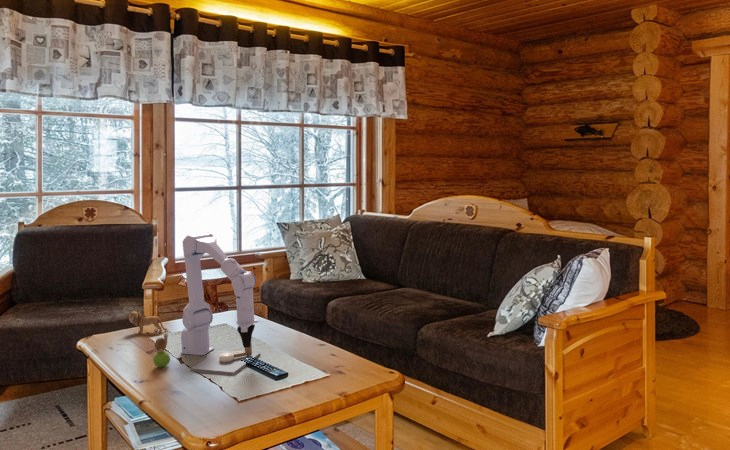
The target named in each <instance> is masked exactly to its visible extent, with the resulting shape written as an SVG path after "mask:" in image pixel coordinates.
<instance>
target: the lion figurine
mask: <svg viewBox="0 0 730 450" xmlns="http://www.w3.org/2000/svg"><path fill="white" fill-rule="evenodd" d="M128 315H129V316H128V317H129V318H128V320H129V322H130V323H131V324H133V325H134V326H136V327H138V328H139V331H138V334H143V332H144V326H151V325H153V326H154V327H155V328H154V331H155V332H158V333H159V334H161V333H162V332H163V330H164V331H165V330H166V331H167V330H168V328H165V327H164V325H163V323H162V320H161V319H160V317H158V316H157V315H153V316H152V315H151V316H146V315H145V314H144V313H140V312H139V311H135V310H134V311H131V312H130V313H129V314H128ZM159 324H160V325H159Z"/></svg>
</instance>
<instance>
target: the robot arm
mask: <svg viewBox="0 0 730 450" xmlns="http://www.w3.org/2000/svg"><path fill="white" fill-rule="evenodd" d="M182 249H183V258H184V265H185V266H184V267H185V273H186V274H185V277H186V284H187V294H188V303H187V305H186V306H185V307H184V308H183V309H182V312H183V313H182V314H183V315H182V321H181V322H182V325H183V327H184V328H182V331H181V334H180V342H181V343H180V344H181V352H180V354H181V355H182V354H184V355H194V356H205V355H206V354H208V353H210V352H211V351H213V350H214V349H215V347H212V346H210V335H209V334H210V333H209V327H211V323H212V322H213V320H214V315H213V312H212V309H211V305H210V304H209V303H208V302H206V301H205V297H204V296H205V295H204V285H203V275H202V265H201V259H202V257H203V256H204V255H205V254H208V255H209V256H210V257H211V258H212V259H213V260H215V261H216V262H217V264H219V265H220V270H221V272H222V273H223V274H224V275H225V276H226V277H227V278H228V279H229V280H230V281H231V287H232V290H233V291H234V296H235V297H236V299H235V300H236V301H235V302H236V303H235V304H236V325H238V326H237V328H236V330H237V332H238V334H239V336H240V339H241V342H242V347H243V348H244V349H245V348H246V347H250V345H251V344H252V336H253V332H254V331H255V326H256V325H255V324H257V323H258V322H259V319H258V318H257V319H256V318H255V307H254V306H255V305H254V304H255V303H254V288H255V287H256V285H257V277H256V275H255V274H254V272H252V271H249V270H245V269H244V268H243V267H242V266H241V265H240V263H238V262H237V260H236V259H235V258H233V257H231V258H229V257H228V256H227V255H226V253H225V252H224V251H223V250H222V249H221V247H220V246H219V245H218V243H217V238H216V236H214V234H213V233H211V232H205V233H198V234H197V233H196V234H191V235H190V234H189V235H186V236H185V237H184V239H183V240H182Z"/></svg>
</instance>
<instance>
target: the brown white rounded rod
mask: <svg viewBox="0 0 730 450" xmlns="http://www.w3.org/2000/svg"><path fill="white" fill-rule="evenodd" d="M252 346H253V345H252V343H251V345H250V347H246V348H244V351H243V352H237V353H222V354H220V355H219V361H220V362H230V361H233V360H234V358H237V357H242V356H250V355H252V352H253V349H252V348H253V347H252Z"/></svg>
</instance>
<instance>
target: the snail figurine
mask: <svg viewBox="0 0 730 450" xmlns="http://www.w3.org/2000/svg"><path fill="white" fill-rule="evenodd" d="M168 331H169V330H168V329H167V330H164V332H165V333H164V334H163V337H158V338H157V339H156V340H155V342H154V348H155V350H156V351H155V352H156V353H155V354H154V355H153V357H152V358H153V359H152V361H153V364H154V365H155V366H156V368H165V367H167V366H168V365H169V363H170V361H171V358H170V357H171V356H170V354H169V353H168V352H166V351H165V350H166V348H167V346H168Z"/></svg>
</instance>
